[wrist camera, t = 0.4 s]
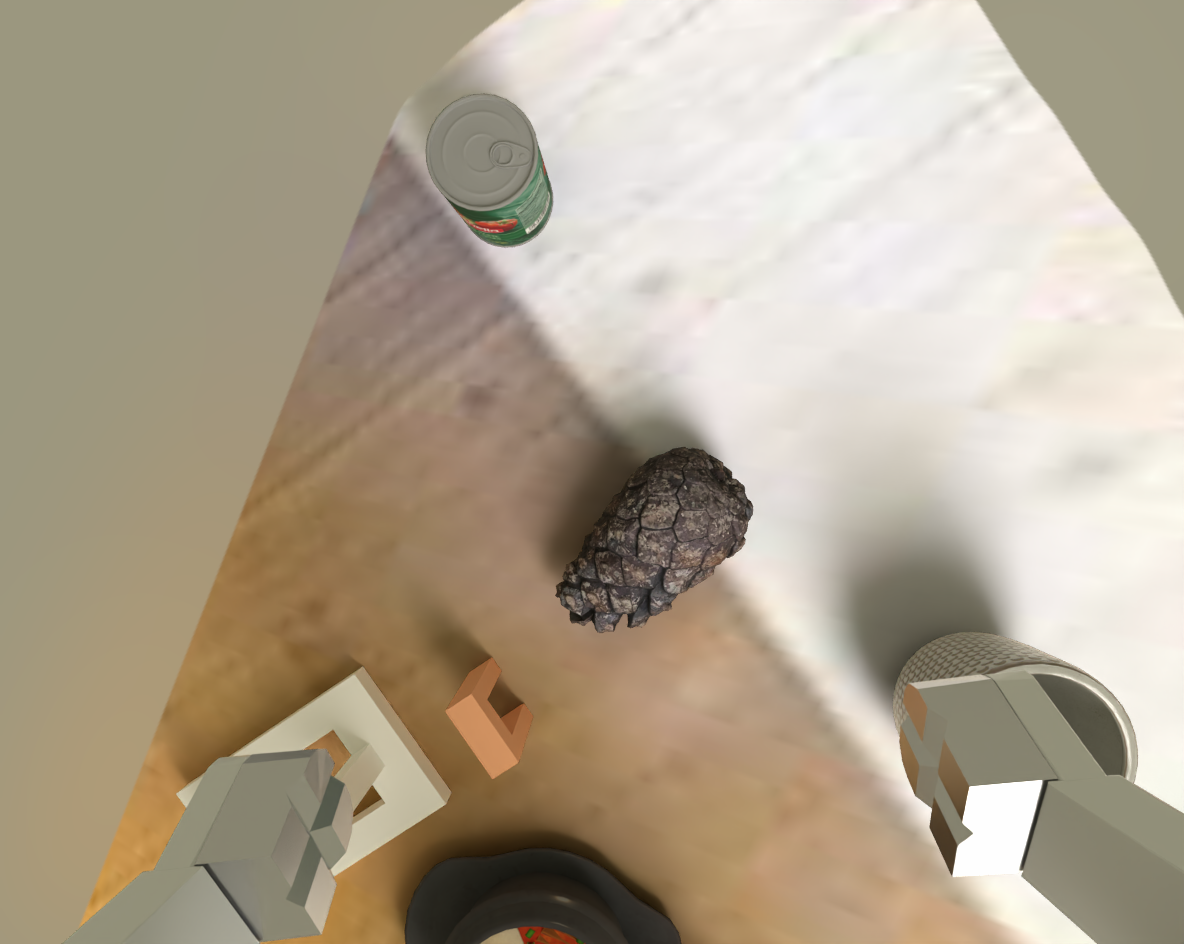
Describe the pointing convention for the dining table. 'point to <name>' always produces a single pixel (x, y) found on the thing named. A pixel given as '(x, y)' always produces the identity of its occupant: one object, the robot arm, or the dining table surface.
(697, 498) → the pine cone
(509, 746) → the orange block
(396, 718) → the toilet paper holder
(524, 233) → the canned tomato
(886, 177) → the dining table surface
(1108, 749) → the planter
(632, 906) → the casserole
